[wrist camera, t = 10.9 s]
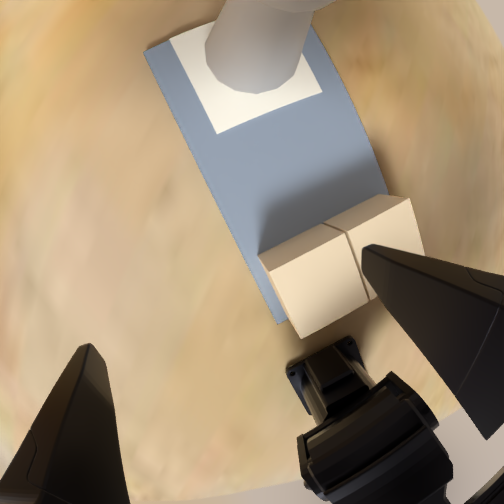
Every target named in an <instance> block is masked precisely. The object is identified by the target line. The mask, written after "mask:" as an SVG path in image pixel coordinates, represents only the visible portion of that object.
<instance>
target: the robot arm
mask: <svg viewBox="0 0 504 504" xmlns="http://www.w3.org/2000/svg"><path fill="white" fill-rule="evenodd" d="M361 270H362V273H363V275H364V276H365V278H366V279H367V281H368V282H369V284H370V285H371V287H372V288H373V290H374V291H375V293H376V294H377V296H378V297H379V299H380V300H381V302H382V303H383V304H384V306H385V307H386V308H387V310H388V311H389V312H390V313H391V315H392V316H393V317H394V318H395V320H396V321H397V322H398V323H399V324H400V326H401V327H402V328H403V329H404V331H405V332H406V333H407V334H408V336H409V337H410V338H411V339H412V341H413V342H414V343H415V344H416V346H417V347H418V348H419V349H420V351H421V352H422V353H423V355H424V356H425V357H426V358H427V360H428V361H429V362H430V364H431V365H432V366H433V368H434V369H435V370H436V371H437V373H438V374H439V375H440V377H441V378H442V379H443V381H444V382H445V383H446V385H447V386H448V387H449V389H450V390H451V392H452V393H453V394H454V395H455V397H456V399H457V400H458V401H459V403H460V404H461V406H462V407H463V408H464V409H465V411H466V413H467V414H468V415H469V417H470V418H471V420H472V421H473V423H474V424H475V426H476V427H477V428H478V430H479V431H480V433H481V434H482V436H483V437H484V438H485V439H486V440H488V439H489V438H490V437H491V435H493V434H494V433H495V432H496V431H497V430H498V429H499V427H500V426H501V425H502V424H503V423H504V276H503V275H498V274H494V273H489V272H485V271H481V270H477V269H473V268H469V267H464V266H462V265H458V264H454V263H450V262H446V261H442V260H438V259H435V258H431V257H427V256H423V255H419V254H415V253H411V252H407V251H402V250H398V249H394V248H390V247H386V246H382V245H377V244H370V245H367V246H365V247H363V248H362V252H361ZM349 341H350V343H348V342H349ZM347 343H348V344H347ZM293 371H294V372H293ZM291 372H293V373H292V374H290V373H291ZM286 375H287V377H288V379H289V381H290V382H291V384H292V386H293V388H294V390H295V391H296V393H297V395H298V397H299V398H300V400H301V402H302V404H303V406H304V407H305V409H306V411H307V413H308V414H309V415H312V416H313V418H314V420H315V422H316V424H317V427H315V428H314V429H312V430H310V431H309V432H307V433H305V434H302V435H300V436H298V437H297V444H298V445H297V448H298V455H299V463H300V471H301V476H302V478H303V479H304V486H305V487H306V489H309V490H312V491H313V492H314V493H315V494H316V495H317V496H318V497H319V498H320V499H322V500H323V501H330V502H331V503H332V504H451V503H450V502H449V500H448V499H447V497H446V488H447V483H448V482H449V481H451V480H452V479H453V464H452V462H451V461H450V460H449V455H448V453H447V451H446V450H445V448H444V447H443V445H442V444H441V442H440V441H439V440H438V438H437V437H436V435H435V434H434V432H433V430H435V429H436V428H437V427H438V426H439V423H438V420H437V419H436V417H435V415H434V414H433V412H432V411H431V409H430V408H429V407H428V405H427V404H426V403H425V402H424V400H423V399H422V398H421V397H420V396H419V395H418V394H417V393H416V391H414V390H413V389H412V388H411V387H410V386H409V385H408V384H406V383H405V382H404V381H403V380H402V379H400V378H399V377H398V376H397V375H396V374H395V373H393V372H392V371H391V372H389V373H388V374H387V375H386V377H385V378H384V379H383V380H381V381H380V382H379V383H378V384H376V383H375V382H374V381H373V380H372V378H371V377H370V376H369V375H368V374H367V372H366V371H365V368H364V365H363V362H362V359H361V356H360V353H359V350H358V347H357V345H356V342H355V340H354V338H353V337H352V336H347V337H345V338H344V339H342V340H340V341H338V342H336V343H335V344H333V345H331V346H329V347H327V348H325V349H323V350H321V351H320V352H318V353H316V354H314V355H312V356H310V357H308V358H306V359H305V360H303V361H301V362H299V363H297V364H295V365H293V366H291V367H289V368H287V370H286ZM0 504H130V500H129V496H128V491H127V486H126V481H125V476H124V471H123V465H122V459H121V453H120V447H119V440H118V432H117V424H116V416H115V408H114V403H113V398H112V393H111V388H110V383H109V377H108V372H107V366H106V363H105V361H104V359H103V358H102V357H101V355H100V354H99V352H98V351H97V350H96V348H95V347H94V346H93V344H91V343H87V344H84V345H81V346H79V347H78V349H77V350H76V352H75V353H74V355H73V356H72V358H71V360H70V361H69V363H68V364H67V366H66V368H65V369H64V371H63V372H62V374H61V376H60V377H59V379H58V381H57V382H56V384H55V386H54V387H53V389H52V391H51V392H50V394H49V396H48V397H47V399H46V401H45V402H44V404H43V406H42V408H41V409H40V411H39V413H38V415H37V417H36V418H35V420H34V422H33V424H32V426H31V430H29V431H28V433H27V435H26V437H25V439H24V440H23V442H22V444H21V446H20V448H19V450H18V451H17V453H16V455H15V456H14V458H13V460H12V462H11V463H10V465H9V467H8V468H7V470H6V472H5V473H4V475H3V477H2V478H1V480H0ZM464 504H504V466H503V467H502V468H501V469H500V470H499V471H498V472H497V473H496V474H495V475H494V476H493V477H492V478H491V480H489V481H488V482H487V483H486V484H485V485H484V486H483V487H482V488H481V489H480V490H479V491H478V492H476V493H475V494H474V495H473V496H472V497H471V498H470V499H469V500H467V501H466V502H465V503H464Z"/></svg>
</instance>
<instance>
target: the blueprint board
mask: <svg viewBox="0 0 504 504" xmlns="http://www.w3.org/2000/svg"><path fill="white" fill-rule="evenodd" d="M214 23H215V21H213V22H210V23H207V24H205V25H202V26H199V27H197V28H194V29H191V30H189V31H186V32H184V33H181V34H179V35H177V36H174V37H172V38H170V39H169V40H168V41H166V42H163V43H161V44H159V45H157V46H155V47H153V48H151V49H148V50H146V51H144V52H143V54H144V56H145V58H146V60H147V62H148V64H149V66H150V68H151V70H152V72H153V74H154V77H155V79H156V81H157V83H158V85H159V87H160V89H161V91H162V93H163V95H164V97H165V99H166V101H167V103H168V106H169V108H170V110H171V112H172V114H173V116H174V118H175V120H176V122H177V124H178V126H179V128H180V130H181V132H182V134H183V136H184V138H185V140H186V143H187V145H188V147H189V149H190V151H191V153H192V155H193V157H194V159H195V161H196V163H197V165H198V167H199V169H200V171H201V173H202V175H203V177H204V179H205V181H206V183H207V185H208V187H209V189H210V191H211V193H212V195H213V197H214V199H215V201H216V203H217V205H218V207H219V209H220V211H221V213H222V215H223V218H224V220H225V222H226V224H227V226H228V228H229V230H230V232H231V234H232V236H233V238H234V240H235V242H236V244H237V246H238V248H239V250H240V252H241V254H242V256H243V258H244V260H245V262H246V264H247V266H248V267H249V269H250V271H251V273H252V275H253V277H254V279H255V281H256V283H257V285H258V287H259V289H260V291H261V293H262V295H263V297H264V299H265V301H266V303H267V305H268V307H269V309H270V311H271V313H272V315H273V317H274V319H275V321H276V323H277V325H278V324H280V323H281V322H283V321H285V320H287V319H289V320H290V322H291V324H292V325H293V327H294V328H295V330H296V332H297V333H298V335H299V337H300V338H301V339H303V338H305V337H306V336H308V335H310V334H312V333H314V332H316V331H318V330H320V329H321V328H323V327H325V326H327V325H329V324H331V323H332V322H334V321H336V320H338V319H340V318H341V317H343V316H345V315H347V314H348V313H350V312H352V311H354V310H355V309H357V308H359V307H361V306H362V305H364V304H366V303H367V302H369V301H368V298H369V299H370V300H372V299H374V298H376V297H377V294H376V293H375V291H374V290H373V288H372V287H371V285H370V284H369V282H368V281H367V279H366V278H365V276H364V275H363V273H362V270H361V252H362V248H363V247H365V246H367V245H370V244H377V245H382V246H386V247H390V248H394V249H398V250H402V251H407V252H411V253H415V254H419V255H423V256H425V253H424V249H423V245H422V241H421V237H420V233H419V229H418V226H417V222H416V218H415V215H414V211H413V208H412V205H411V201H410V198H405V197H398V196H391V195H389V192H388V190H387V187H386V184H385V181H384V178H383V175H382V173H381V170H380V167H379V165H378V162H377V159H376V157H375V154H374V152H373V149H372V147H371V144H370V142H369V139H368V137H367V134H366V132H365V130H364V127H363V125H362V123H361V121H360V118H359V116H358V114H357V112H356V109H355V107H354V105H353V103H352V101H351V99H350V96H349V94H348V92H347V90H346V88H345V86H344V84H343V82H342V80H341V78H340V76H339V74H338V72H337V70H336V68H335V66H334V65H333V63H332V61H331V59H330V57H329V55H328V53H327V52H326V50H325V48H324V46H323V44H322V43H321V41H320V39H319V37H318V36H317V34H316V32H315V31H314V29H313V27H312V26H311V24H310V27H309V30H308V33H307V36H306V39H305V42H304V46H303V49H302V53H301V57H300V60H299V63H298V66H297V68H296V71H295V74H294V76H293V77H291V78H290V79H289V80H288V81H286V82H285V83H284V84H283V85H281V86H280V87H279V88H277V89H274V90H270V91H266V92H262V93H259V94H253V93H246V92H239V91H235V90H233V89H231V88H230V87H228V86H226V85H225V84H223V83H221V82H219V81H218V80H217V79H216V77H215V76H214V74H213V73H212V71H211V70H210V68H209V67H208V66H207V63H206V55H205V42H206V40H207V38H208V36H209V34H210V31H211V29H212V27H213V25H214Z"/></svg>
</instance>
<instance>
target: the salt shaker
mask: <svg viewBox="0 0 504 504" xmlns="http://www.w3.org/2000/svg"><path fill="white" fill-rule="evenodd" d="M334 1H336V0H226V2H225V4H224V6H223V8H222V10H221V12H220V14H219V15H218V17H217V19H216V21H215V23H214V25H213V27H212V29H211V31H210V34H209V36H208V38H207V40H206V42H205V55H206V63H207V66H208V67H209V68H210V70H211V71H212V73H213V74H214V76H215V77H216V79H217V80H218V81H219V82H221V83H223V84H225V85H226V86H228V87H230V88H231V89H233V90H235V91H239V92H246V93H253V94H259V93H262V92H266V91H270V90H274V89H277V88H279V87H280V86H281V85H283V84H284V83H285V82H286V81H288V80H289V79H290V78H291V77H293V76H294V74H295V71H296V68H297V66H298V63H299V60H300V57H301V53H302V49H303V46H304V42H305V39H306V36H307V33H308V30H309V27H310V24H311V21H312V18H313V15H314V12H315V10H319V9H322V8H324V7H325V6H327V5H329V4H331V3H332V2H334Z"/></svg>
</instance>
